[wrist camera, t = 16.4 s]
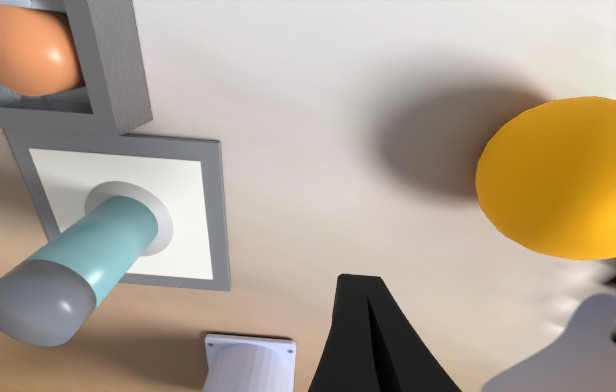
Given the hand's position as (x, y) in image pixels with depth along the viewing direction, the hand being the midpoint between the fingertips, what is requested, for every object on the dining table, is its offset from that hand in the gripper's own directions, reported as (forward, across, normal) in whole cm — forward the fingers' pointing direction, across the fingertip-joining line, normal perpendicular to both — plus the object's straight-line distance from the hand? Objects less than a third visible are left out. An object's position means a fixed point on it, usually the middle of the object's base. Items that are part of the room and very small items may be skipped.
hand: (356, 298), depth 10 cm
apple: (+11, -11, -2) cm, 15 cm away
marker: (+10, +14, +4) cm, 18 cm away
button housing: (+10, +15, -6) cm, 19 cm away
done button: (+9, +15, -6) cm, 19 cm away
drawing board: (+10, +14, +4) cm, 18 cm away
